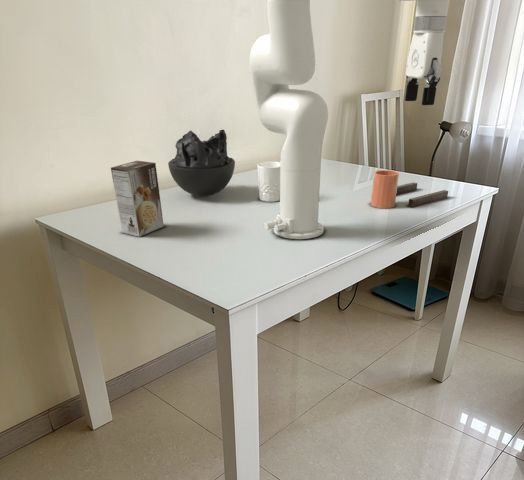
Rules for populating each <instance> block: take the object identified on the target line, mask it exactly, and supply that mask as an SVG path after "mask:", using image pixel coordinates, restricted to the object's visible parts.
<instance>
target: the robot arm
mask: <svg viewBox="0 0 524 480" xmlns="http://www.w3.org/2000/svg"><path fill="white" fill-rule="evenodd" d="M400 1H401V2H412V1H413V2H414V0H400ZM450 1H451V0H416V10H415V17H414V24H413V34H412V37H411V41H410V46H409V51H408V55H407V60H406V61H407V62H406V68H405V76H406V88H405V96H404V101H405V102H416V101H417V99H418V92H419V84H418V83H419V81H420V80H421V79H423V81H424V85H425V87H423V92H422V99H421V106H434V104H435V100H436V94H437V88H438V86H439V82H440V80H441V76H442V73H443V71H444V68H443V67H442V57H443V48H444V33H446V27H447V20H448V13H449V7H450ZM266 13H267V23H268V29H269V30H268V31H269V32H268V33H266V34H262V35H261V36H259V37H258V38H257V39H256V40H255V42H254V43H253V44H252V47H251V49H250V53H249V60H248V61H249V64H248V65H249V74H250V79H251V80H250V81H251V84H252V89H253V94H254V99H255V104H256V110H257V114H258V118H259V120H260V122H261V124H262V125H263V127H264V128H265V129H266V130H268V131H269V132H272V133H276V134H281V135H284V136H286V138H285V141H284V143H283V146H282V148H281V153H280V158H279V159H280V160H279V162H280V200H279V213H277V214H276V217H275V218H274V219H273V220H268V221H265V222H264V223H263V229H264V230H266V231H268V230H272V229H273V233H275V235H276V236H279V237H281V238H284V239H290V240H308V239H313V238H317V237H319V236H321V235H323V234H324V231H325V226H324V225H323V224H322V223H320V222H319V209H320V207H319V206H320V188H321V170H322V169H321V168H322V167H321V166H322V154H323V153H322V151H323V145H324V144H323V143H324V137H325V132H326V129H327V124H328V119H329V109H328V108H329V107H328V105H327V103H326V101H325V99H324V98H323V97H322V96H321V95H320V94H318V93H316V92H314V91H311V90H305V89H298V88H297V89H296V88H290V87H289V86H301V85H304V84H307V83H308V82H309V81H310V80H311V79H312V78H313V76H314V75H315V72H316V71H315V70H316V54H315V44H314V35H313V28H312V18H311V0H266Z"/></svg>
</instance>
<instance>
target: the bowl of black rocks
mask: <svg viewBox="0 0 524 480" xmlns="http://www.w3.org/2000/svg"><path fill="white" fill-rule="evenodd" d="M227 140H228V137H227V133H226V131H225V129H219V131H218V133H215V134H214V135H211V136H210V137H209V138H208V139H207V140H200V138H199V137H198V135H197V134H196V133H195V132H194V131H192V130H189V131H187V133H185V134H183V135H182V137H181V138H179V139H178V140H177V141H176V143H175V146H174V147H175V148H176V154H175V157H174V158H172V159H170V160H169V161H168V163H167V165H168V170H169V173H170V175H171V177H172V179H173V180H174V182H175V183H176V184H177V186H178V187H179V188H180V189H182V191H184V192H186V193H188V194H190V195H193V196H197V197H210V196H212V195H215V194H218V193H219V192H221V191H222V190H224V189H225V188H226V187H227V185H228V184H229V183H230V181H231V179H232V177H233V175H234V172H235V167H236V161H235V159H234V158H233V157H229V156H228V146H227V145H228V141H227Z"/></svg>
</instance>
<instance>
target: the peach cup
mask: <svg viewBox="0 0 524 480" xmlns="http://www.w3.org/2000/svg"><path fill="white" fill-rule="evenodd" d="M399 176H400V173H399V171H395V170H388V169H381V170H376V171H374V172H373V180H372V181H373V182H372V191H371V200H370V205H371V206H372V207H374V208H377V209H391V208H394V207H395V205H396V201H397V195H396V192H397V186H399V178H400V177H399Z"/></svg>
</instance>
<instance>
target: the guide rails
mask: <svg viewBox="0 0 524 480" xmlns="http://www.w3.org/2000/svg"><path fill="white" fill-rule="evenodd" d="M417 188H418V183H417V182H415V181H414V182H410V183H404V184H400V185H397V192H396V196H397V195H401V194H405V193H408V192H409V193H410V192H413V191H416V190H417ZM448 195H449V190H446V189H443V190H439V191H435V192H431V193H427V194H423V195H420V196H419V195H418V196H416V197H411V198H408V202H407V206H408V207H411V208H414V207H417V206H421V205H425V204H429V203H432V202H436V201H441V200H444V199H447V198H448Z"/></svg>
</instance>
